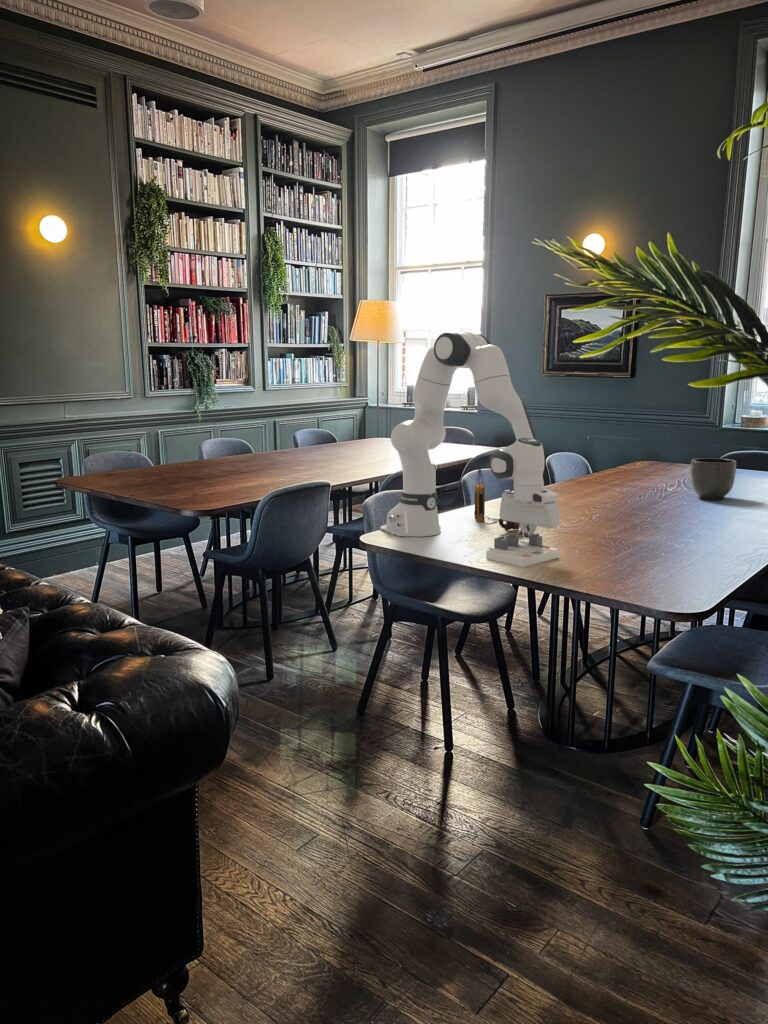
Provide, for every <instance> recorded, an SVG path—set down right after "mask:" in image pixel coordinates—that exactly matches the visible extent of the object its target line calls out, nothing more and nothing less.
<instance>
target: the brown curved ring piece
mask: <svg viewBox="0 0 768 1024" xmlns="http://www.w3.org/2000/svg"><path fill="white" fill-rule="evenodd" d="M498 519H499V520H498V524H499V526H500V528H502V529H504V531H505V532H506V531H507V532H508V531H509V530H515V529H519V530H520V526H519V524H520V523H517V522H511V521H506V520H502V519H501V518H498ZM504 522H505V523H504ZM526 527H527V530H528V532H529V530H530V528H529V525H527V526H526ZM518 534H519V535H520V536H522V535H523V532H522V531H521V530H520V531H519V532H518Z"/></svg>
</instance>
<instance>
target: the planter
mask: <svg viewBox="0 0 768 1024" xmlns="http://www.w3.org/2000/svg"><path fill="white" fill-rule="evenodd" d="M736 472H737V460H735V459H729V458H720V457H719V458H718V457H717V458H716V457H714V458H713V457H701V458H700V457H699V458H693V459H691V461H690V481H691V486H692V489H693V491H694V492H695V493H696V494H697V495H698V497H699V498H700V499H702V500H705V501H721V500H723V499H724V498H725V497H726V496H727V495H728V494H729V493H730V492H731V490H733V487H734V483H735V479H736Z"/></svg>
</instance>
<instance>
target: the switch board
mask: <svg viewBox="0 0 768 1024" xmlns="http://www.w3.org/2000/svg"><path fill="white" fill-rule="evenodd" d="M485 552H486V553H485V555H486V557H485V558H486V559H487V560H491V561H497V562H499V563H503V564H509V565H513V566H517V567H521V568H524V567H529V566H533V565H535V564H540V563H543V562H547V561H551V560H554V559H557V558H559V549H558V548H554V547H551V545H548V544H544V543H542V547H536V546H531V545H529V540H525V539H519V547H513V546H508V545H507V550H502V549H498V548H494V546H493V547H492V546H490V547H488V549H486V550H485Z"/></svg>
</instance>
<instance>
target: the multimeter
mask: <svg viewBox="0 0 768 1024" xmlns="http://www.w3.org/2000/svg"><path fill="white" fill-rule="evenodd" d="M477 470H478V472H477V477H476V479H477V482H478V483H477V484H474V513H473V514H474V520H475V521H476V522H477V523H484V524H486V525H491V524H495V523H497V522H498V521H499V519H500V518H490V517H489V516H487V517H488V518H487V519H488V520H493V522H490V523H487V522H486V521H485V520H486V519H485V518H486V516H485V512H486V510H485V509H486V507H485V505H486V503H485V501H486V500H485V499H486V498H485V497H486V495H485V494H486V491H485V490H486V489H485V488H486V487H485V486H484V480H483V473H482V470H481V468H480V466H479V465H478V466H477ZM484 516H485V517H484Z"/></svg>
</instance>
